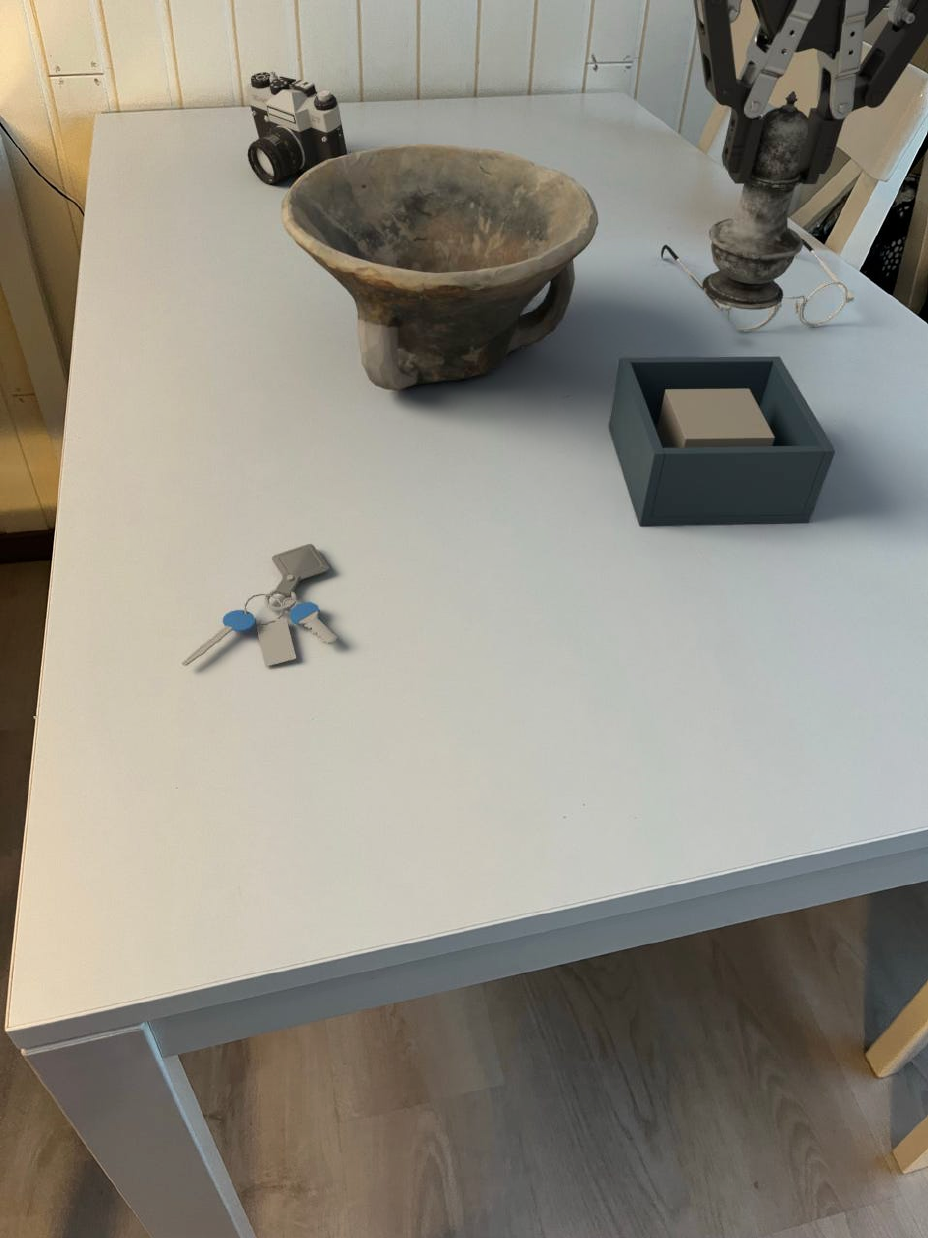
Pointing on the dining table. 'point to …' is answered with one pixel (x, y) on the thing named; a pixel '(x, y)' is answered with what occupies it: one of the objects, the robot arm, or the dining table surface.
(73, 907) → the dining table surface
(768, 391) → the crate
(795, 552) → the dining table surface
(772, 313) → the eyeglasses
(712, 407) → the block
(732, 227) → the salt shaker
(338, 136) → the camera
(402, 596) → the dining table surface
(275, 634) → the key chain
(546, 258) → the bowl
